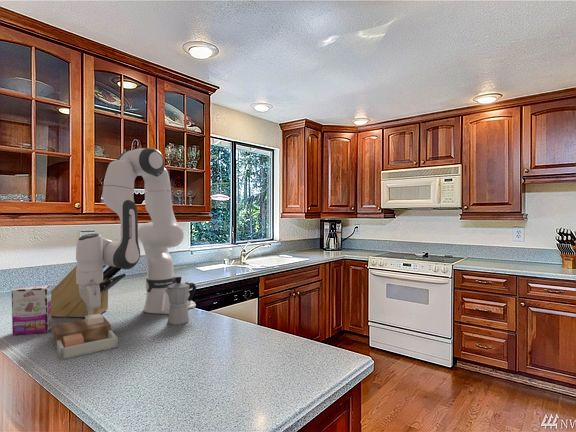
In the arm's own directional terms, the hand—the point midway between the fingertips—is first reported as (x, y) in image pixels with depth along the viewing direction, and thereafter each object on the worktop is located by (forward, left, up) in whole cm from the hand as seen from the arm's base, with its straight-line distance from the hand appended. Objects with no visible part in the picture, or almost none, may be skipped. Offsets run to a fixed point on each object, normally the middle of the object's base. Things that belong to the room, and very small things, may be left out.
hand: (90, 314), depth 134 cm
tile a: (0, +7, -1) cm, 8 cm away
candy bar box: (+17, -11, -6) cm, 21 cm away
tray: (+4, +19, -6) cm, 20 cm away
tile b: (+8, +19, -3) cm, 20 cm away
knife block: (-1, -24, -6) cm, 25 cm away
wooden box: (+4, +8, -6) cm, 11 cm away
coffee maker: (-31, +9, -6) cm, 33 cm away
